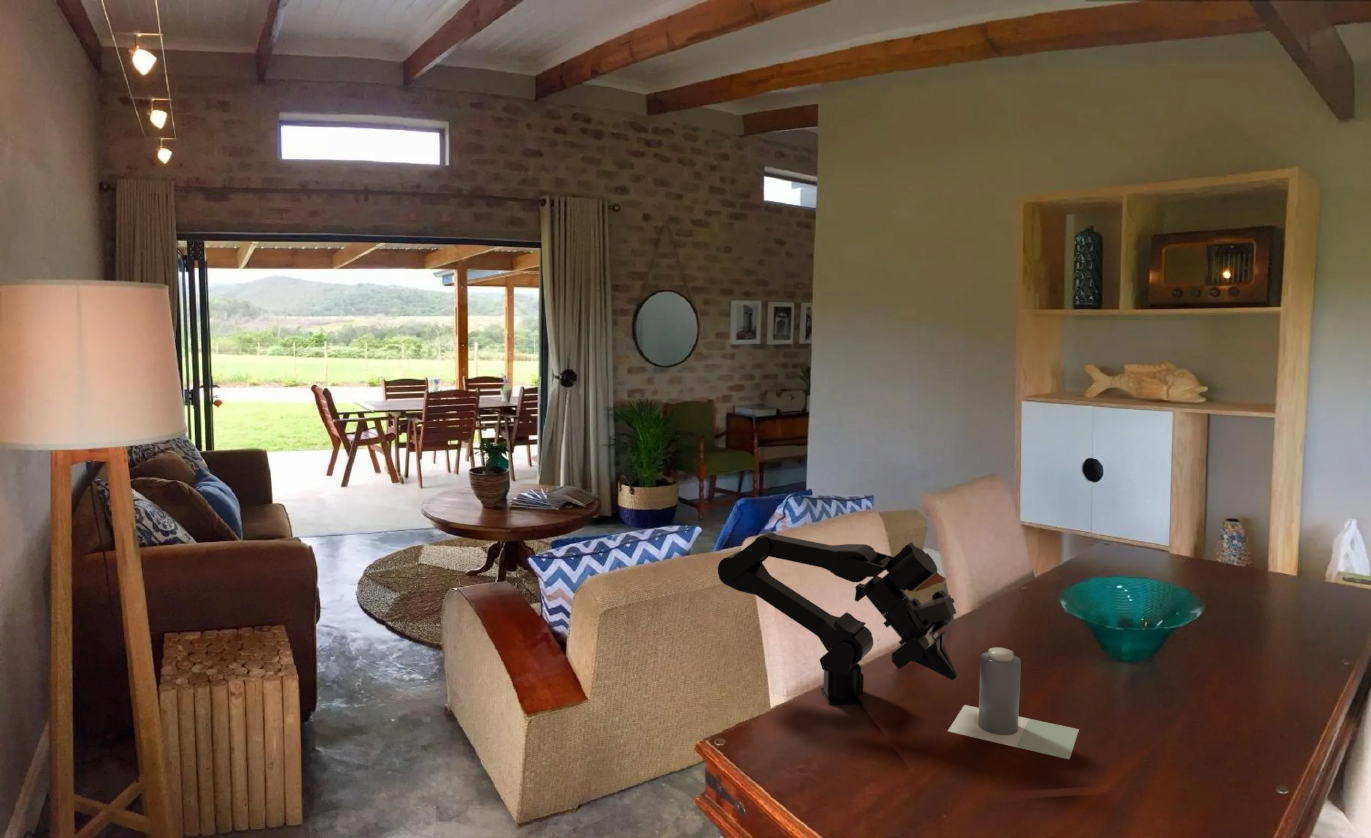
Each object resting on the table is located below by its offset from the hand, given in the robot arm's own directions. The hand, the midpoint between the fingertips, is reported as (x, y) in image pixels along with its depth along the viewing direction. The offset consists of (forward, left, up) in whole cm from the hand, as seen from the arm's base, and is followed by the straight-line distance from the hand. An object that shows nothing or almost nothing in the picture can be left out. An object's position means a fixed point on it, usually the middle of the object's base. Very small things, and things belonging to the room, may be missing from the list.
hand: (955, 678), depth 153 cm
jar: (+6, -4, -7) cm, 10 cm away
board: (+8, -6, -8) cm, 13 cm away
